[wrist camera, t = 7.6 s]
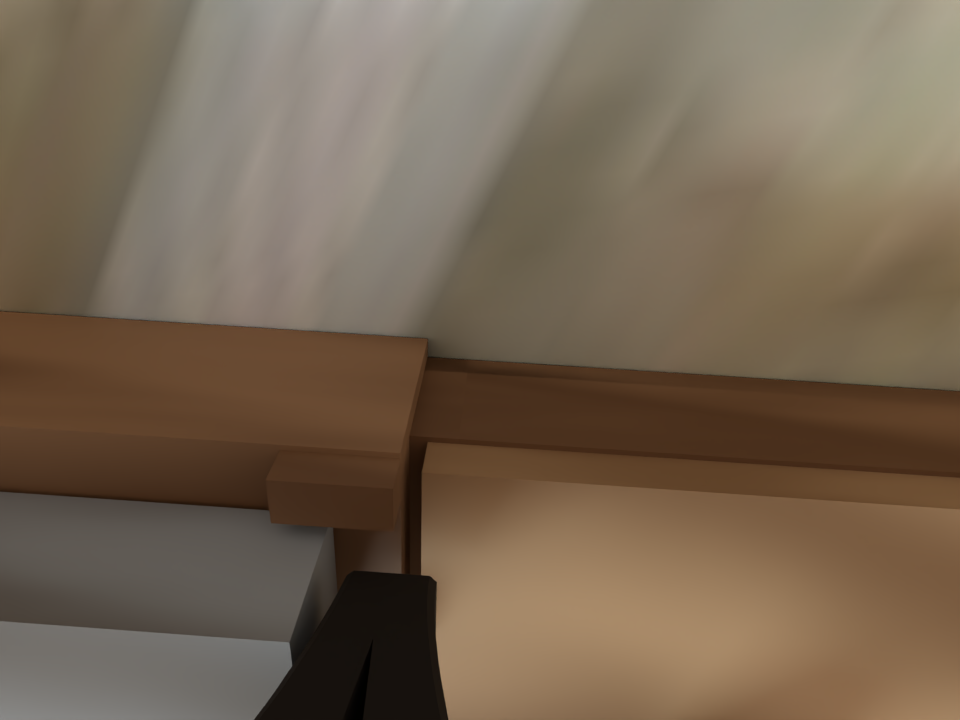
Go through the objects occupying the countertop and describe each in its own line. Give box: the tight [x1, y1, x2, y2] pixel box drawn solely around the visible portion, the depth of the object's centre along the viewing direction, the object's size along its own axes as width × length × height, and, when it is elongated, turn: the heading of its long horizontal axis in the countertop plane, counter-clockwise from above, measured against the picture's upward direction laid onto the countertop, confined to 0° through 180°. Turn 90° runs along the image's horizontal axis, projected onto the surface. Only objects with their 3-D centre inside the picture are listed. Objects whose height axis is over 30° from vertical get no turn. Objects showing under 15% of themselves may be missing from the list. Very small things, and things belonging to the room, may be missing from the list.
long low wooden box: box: [0, 311, 960, 592], centre depth 16 cm, size 16×26×4 cm, turn 87°
